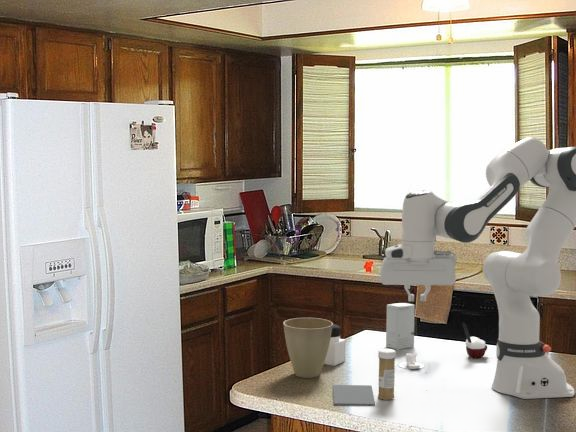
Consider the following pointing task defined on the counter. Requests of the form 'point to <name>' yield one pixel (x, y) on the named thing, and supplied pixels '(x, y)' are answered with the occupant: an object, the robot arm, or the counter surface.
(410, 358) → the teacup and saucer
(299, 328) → the plant pot
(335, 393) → the mat
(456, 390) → the counter surface
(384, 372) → the sprinkles bottle
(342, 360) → the medicine bottle
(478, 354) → the cocoa
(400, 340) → the skincare box
